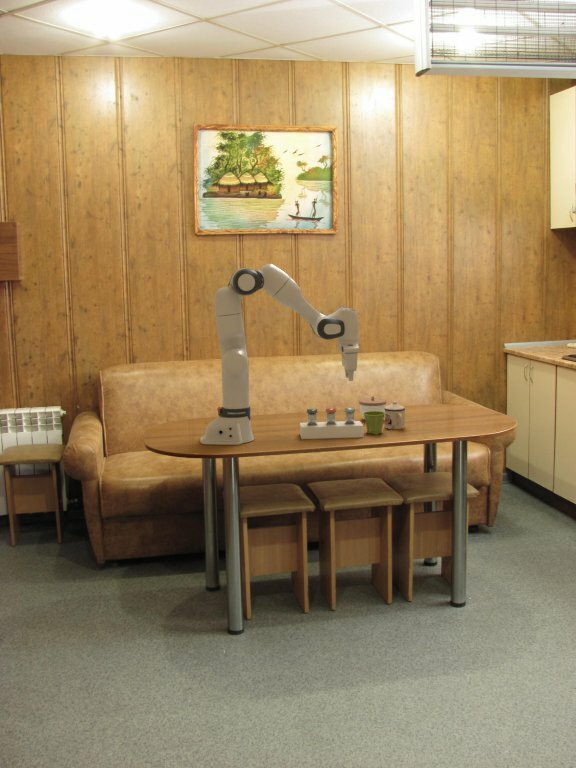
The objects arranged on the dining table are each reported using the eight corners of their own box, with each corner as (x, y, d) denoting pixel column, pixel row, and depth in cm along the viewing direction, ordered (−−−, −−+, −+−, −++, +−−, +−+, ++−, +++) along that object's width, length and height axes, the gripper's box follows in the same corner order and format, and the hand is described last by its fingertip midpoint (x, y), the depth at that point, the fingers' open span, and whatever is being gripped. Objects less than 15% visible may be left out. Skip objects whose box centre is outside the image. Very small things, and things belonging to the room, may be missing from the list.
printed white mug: (381, 426, 360) (381, 400, 358) (399, 424, 362) (400, 399, 360) (391, 431, 348) (391, 405, 346) (411, 430, 351) (411, 403, 349)
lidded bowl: (362, 423, 367) (362, 399, 366) (356, 417, 380) (356, 394, 378) (389, 422, 369) (389, 398, 367) (382, 416, 381) (382, 393, 380)
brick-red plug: (326, 424, 339) (326, 410, 338) (325, 422, 344) (325, 408, 343) (336, 424, 340) (336, 409, 339) (335, 422, 344) (335, 407, 343)
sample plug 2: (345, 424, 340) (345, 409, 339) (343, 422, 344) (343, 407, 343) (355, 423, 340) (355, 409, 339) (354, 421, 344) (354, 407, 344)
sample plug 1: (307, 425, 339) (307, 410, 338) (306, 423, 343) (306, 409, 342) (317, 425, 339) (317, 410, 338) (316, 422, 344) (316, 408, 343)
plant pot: (368, 435, 341) (368, 415, 339) (360, 431, 350) (359, 411, 348) (388, 434, 343) (388, 414, 342) (380, 429, 352) (380, 410, 351)
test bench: (301, 439, 337) (301, 427, 336) (299, 434, 347) (299, 422, 346) (363, 437, 338) (363, 425, 338) (359, 432, 348) (359, 420, 347)
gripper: (338, 344, 347) (338, 375, 349) (344, 349, 327) (344, 382, 329) (352, 343, 348) (353, 375, 350) (359, 348, 327) (360, 382, 329)
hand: (349, 379), depth 339 cm, fingers open, 8 cm apart
